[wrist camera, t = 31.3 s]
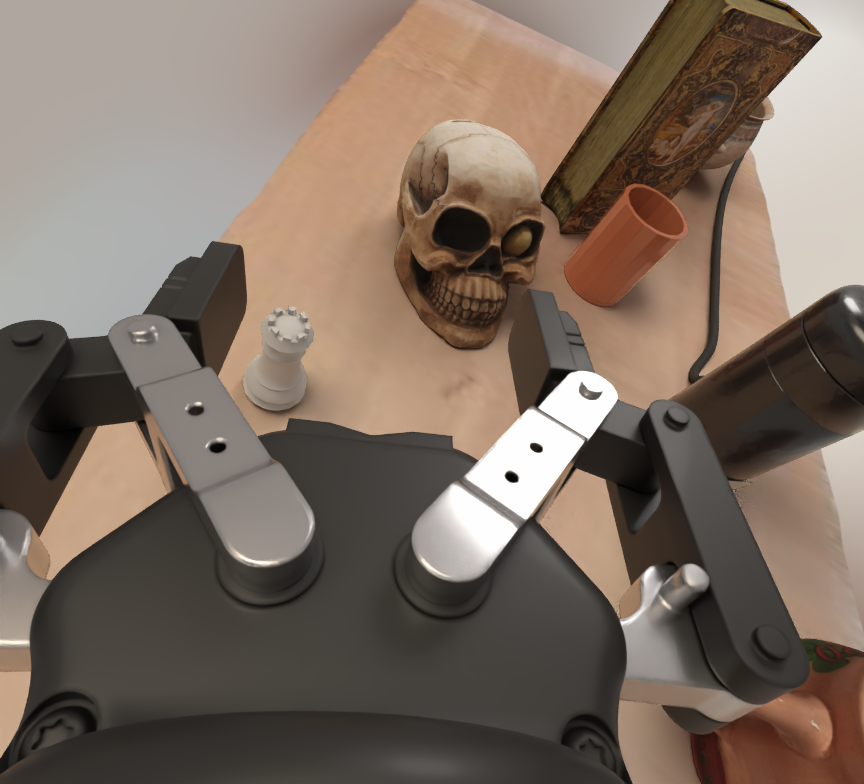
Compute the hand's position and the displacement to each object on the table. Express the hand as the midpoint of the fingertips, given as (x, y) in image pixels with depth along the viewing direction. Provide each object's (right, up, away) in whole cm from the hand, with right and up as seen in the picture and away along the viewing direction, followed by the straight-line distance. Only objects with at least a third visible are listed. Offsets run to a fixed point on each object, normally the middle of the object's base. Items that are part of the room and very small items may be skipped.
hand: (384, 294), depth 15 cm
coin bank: (+3, +9, +37) cm, 38 cm away
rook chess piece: (-10, -3, +24) cm, 26 cm away
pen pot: (+20, +10, +44) cm, 50 cm away
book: (+22, +19, +52) cm, 59 cm away
